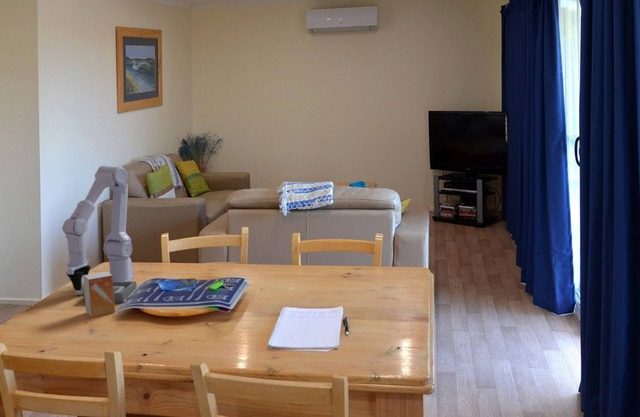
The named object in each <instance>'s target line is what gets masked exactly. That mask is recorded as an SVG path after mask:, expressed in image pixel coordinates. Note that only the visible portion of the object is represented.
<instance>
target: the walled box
mask: <svg viewBox="0 0 640 417" xmlns="http://www.w3.org/2000/svg"><path fill="white" fill-rule="evenodd" d="M136 288H137V289H138V287H137V281H134V280H133V281H131V280H130V281H113V289H114V302H115V304H124V303H125V302H124V300H125V299H126V298H127V297H128V296H129V295H130V294H131V293H132V292H133V291H134V290H135V289H136ZM82 295H83V303H85V293H83V294H82ZM123 302H124V303H123Z"/></svg>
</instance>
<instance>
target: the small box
mask: <svg viewBox="0 0 640 417" xmlns="http://www.w3.org/2000/svg"><path fill="white" fill-rule="evenodd" d="M83 281H84V293H85V313H86V314H87V315H88V316H89V317H90V318H93V317H94V318H95V317H99V316H104V315H110V314H115V313H116V306H115V304H116V303H115V302H114V289H113V276H112V275H111V274H110V272H108V271H100V272H95V273H90V274H89V273H88V275H83ZM114 312H115V313H114Z"/></svg>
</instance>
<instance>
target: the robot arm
mask: <svg viewBox="0 0 640 417" xmlns="http://www.w3.org/2000/svg"><path fill="white" fill-rule="evenodd" d="M128 175H129V172H127V170H126V169H125V168H124V167H123V166H110V165H109V166H108V165H107V166H106V165H101V166H99V167H98V168H97V171H96V172H95V174H94V178H95V179H94V181H93V183H92V186H91V187H90V189H89V190H88V193H87V195H86V197H85V199H83V200H80V201H78V203H77V206H76V208H74V210H73V212H72V214H71V216H70V217H69V218H67V219H66V220H64V222H63V225H62V227H61V229H62V231H63V233H64V234H65V239H67V241H66V242H67V252H68V260H69V262H67V263H66V266H67V268H66V276H67V277H68V278H69V280H70V282H71V284H72V286H73V289H74V291H75V290H81V282H82V275H89V273H90V270H91V265H88V264H90V258H89V257H87V256H86V255H87V253H86V245H85V242H86V241H85V233H86V232H87V229H88V223H89V219H91V218H90V217H92V214H93V212H94V211H95V203H96V202H97V200H98V199H99V198H100V196H101V194H102V193H103V192H104V191H105V189H107V188H109V189H110V190H111V191H112V202H111V204H112V206H111V221H110V222H111V223H110V232H109V234H107V235H106V236H105V241H104V244H103V252H104V255H106V256H107V258H106V259H108V264H109V273H110V274H111V275H112V276H113V281H131V280H133V278H134V277H135V276H136V274H133V263H132V262H133V261H132V259H131V257H130V256H131V255H132V253H133V245H132V238H131V237H130V236H129V235H128V233H127V232H126V231H127V214H128V199H129V198H128V197H129V196H128V194H129V185H128Z"/></svg>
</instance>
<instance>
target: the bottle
mask: <svg viewBox="0 0 640 417" xmlns="http://www.w3.org/2000/svg"><path fill="white" fill-rule="evenodd" d="M83 293H84V281H83V275H82V282H81V290H74V294H75V295H79V296H80V295H83Z"/></svg>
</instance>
